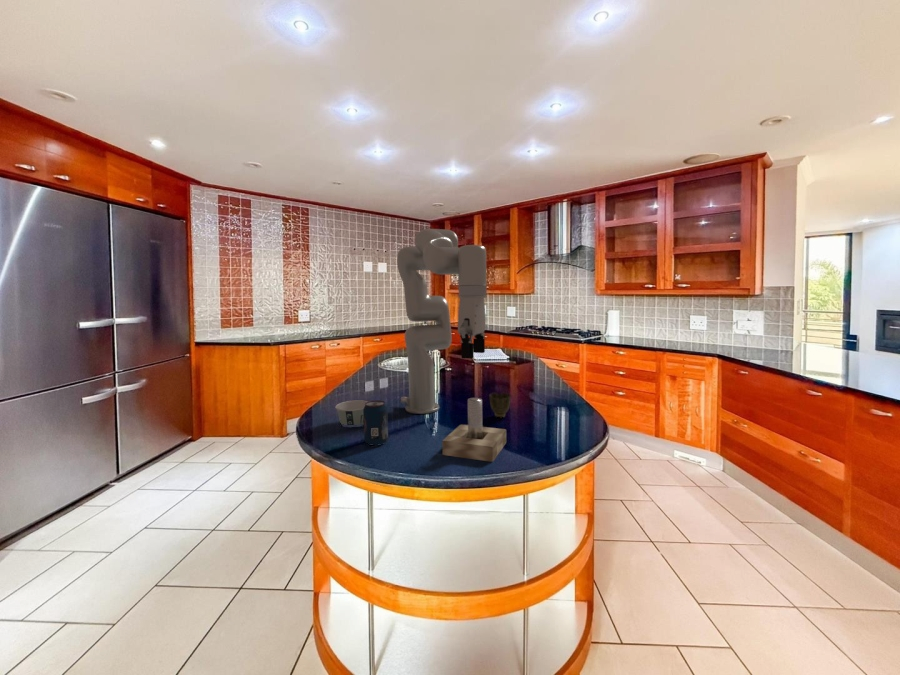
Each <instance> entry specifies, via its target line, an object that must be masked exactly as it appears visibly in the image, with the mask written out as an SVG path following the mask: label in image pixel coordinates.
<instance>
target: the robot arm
mask: <svg viewBox="0 0 900 675" xmlns="http://www.w3.org/2000/svg"><path fill="white" fill-rule="evenodd" d="M414 245H415V246H414ZM414 245H413V246H405V247H403V248H400V250H398V253H397V255H396V256H397V258H396V259H397V261H396V262H397V264H396V265H397V269H398V270H397V271H398V273H399V276H400V278H401V281H402V283H403V291H404V300H405V301H404V303H405V312H406V316H407V319H408V320H409V321H411V322H417V323H419V322H422V323H423V322H435V324H421V325H420V324H419V325H413V326H410V327H408V328H407V329H406V330H405V333H404V342H405V343H404V344H405V348H406V352H407V353H406V355H407V366H408V368H407V369H408V370H407V371H408V391H409V392H408V393H409V394H408V396H401V398H400V403H401V404H406V406H405V411H406V412H407V413H409V414H417V415H418V414H420V415H423V414H430V413H436V411H439V410H440V404H438V403H436V397H435V396H436V393H435V387H436V386H435V364H434V363H435V361H434V360H433V358H432V357H431V356H430V355H429V354H428V352H429V351H437V350H445V349H448V348H450V346H451V345H452V340H453V339H452V338H453V337H452V336H453V335H452V326H451V318H450V317H451V316H450V308H449V307H450V306H449V304H448V301H447V299H446V298H445V297H444V296H442V295H429V293H428V285H427V282H426V279H425V278H424V277H423V275H421V273H420V272H419V271H430V272H431V273H433V274H436V275H440V276H443V275H444V276H445V275H449V276H450V275H454V276H455V275H457V276H458V279H457V280H458V298H459V302H458V313H457V314H458V315H457V316H458V318H457V333H458V334H459V337H460V345H461V346H460V347H461V348H460V351H461V358H462V359H473V358H474V353H478V354H484V353H485V352H486V348H485V347H486V345H485V344H486V343H485V342H486V340H485V338H486V335H485V331H486V308H485V306H486V305H485V298H488V297H487V296H488V295H487V291H488V289H487V287H488V286H487V285H488V284H487V250H486V247H485V246H483V245H479V244H466V245H462V246H460V247H459V239H458V236H457V234H456V233H455V231H453V230H451V229H444V228H443V229H442V228H441V229H440V228H425V229H421V230H420V231H418V232H417V234H416V235H415V237H414Z"/></svg>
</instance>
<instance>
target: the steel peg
mask: <svg viewBox="0 0 900 675" xmlns="http://www.w3.org/2000/svg"><path fill="white" fill-rule="evenodd" d="M467 425H468V438H472V439H480V440H483V427H484V426H483V399H482V398H480V397H470V398H467Z"/></svg>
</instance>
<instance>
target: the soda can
mask: <svg viewBox="0 0 900 675" xmlns="http://www.w3.org/2000/svg"><path fill="white" fill-rule="evenodd" d="M388 414H389V413H388V407H387V405H386V402H385V401H383V400H370V401H369V402H366V403H365V407H364V409H363V416H364V426H363V431H364V432H363V433H364V434H363V437H364V442H365V443H366V444H367V443H368V444H373V445H378V444H383V443H385V444H386V443H387V441H388V440H389V418H388V416H389V415H388ZM368 444H367V445H368Z"/></svg>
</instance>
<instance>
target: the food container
mask: <svg viewBox="0 0 900 675" xmlns="http://www.w3.org/2000/svg"><path fill="white" fill-rule="evenodd" d="M366 402H369V401H367V400H362V399H360V400H359V399H358V400H347V401H343V402H340V403H338V404H336V405H335V406H334V407H335V409H336V411H337V412H336V413H337V415H338V416H337V417H338V420H339V424H340V423H341V424H344V425H360V424H364V416H363V409H364V407H365V403H366Z"/></svg>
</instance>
